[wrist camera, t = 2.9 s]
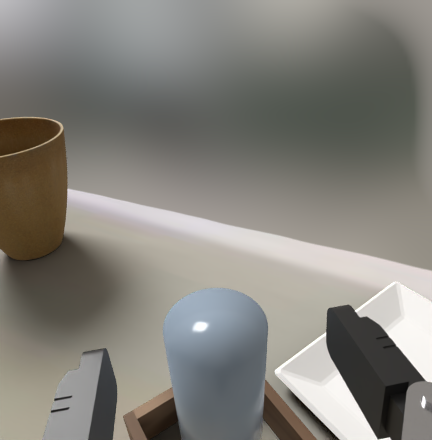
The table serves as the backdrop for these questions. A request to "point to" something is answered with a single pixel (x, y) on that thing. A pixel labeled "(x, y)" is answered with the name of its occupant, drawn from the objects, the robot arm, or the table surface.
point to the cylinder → (217, 364)
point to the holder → (167, 415)
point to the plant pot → (32, 186)
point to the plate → (329, 375)
